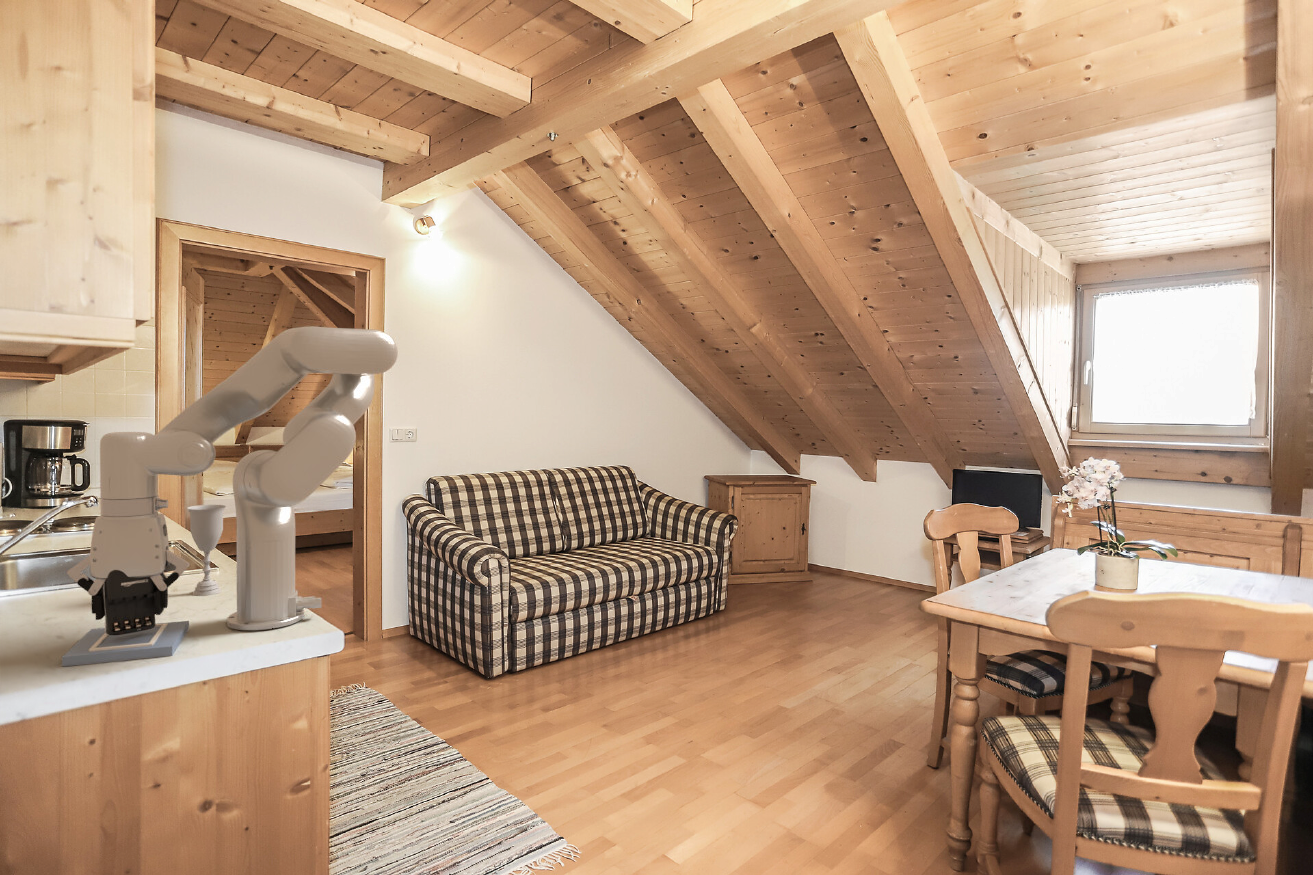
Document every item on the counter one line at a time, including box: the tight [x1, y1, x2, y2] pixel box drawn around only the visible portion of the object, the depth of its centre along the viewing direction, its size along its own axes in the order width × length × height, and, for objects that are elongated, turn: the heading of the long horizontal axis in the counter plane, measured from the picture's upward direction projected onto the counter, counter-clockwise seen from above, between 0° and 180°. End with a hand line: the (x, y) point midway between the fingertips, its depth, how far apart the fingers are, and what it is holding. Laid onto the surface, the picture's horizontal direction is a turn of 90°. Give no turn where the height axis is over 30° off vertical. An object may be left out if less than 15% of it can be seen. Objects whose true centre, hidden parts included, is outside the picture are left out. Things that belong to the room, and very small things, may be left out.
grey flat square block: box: [61, 620, 190, 667], centre depth 117 cm, size 14×14×2 cm
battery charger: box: [103, 570, 157, 635], centre depth 117 cm, size 7×4×11 cm, turn 139°
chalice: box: [187, 504, 226, 597], centre depth 150 cm, size 7×7×18 cm
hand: (130, 614), depth 117 cm, fingers closed on battery charger, 7 cm apart
